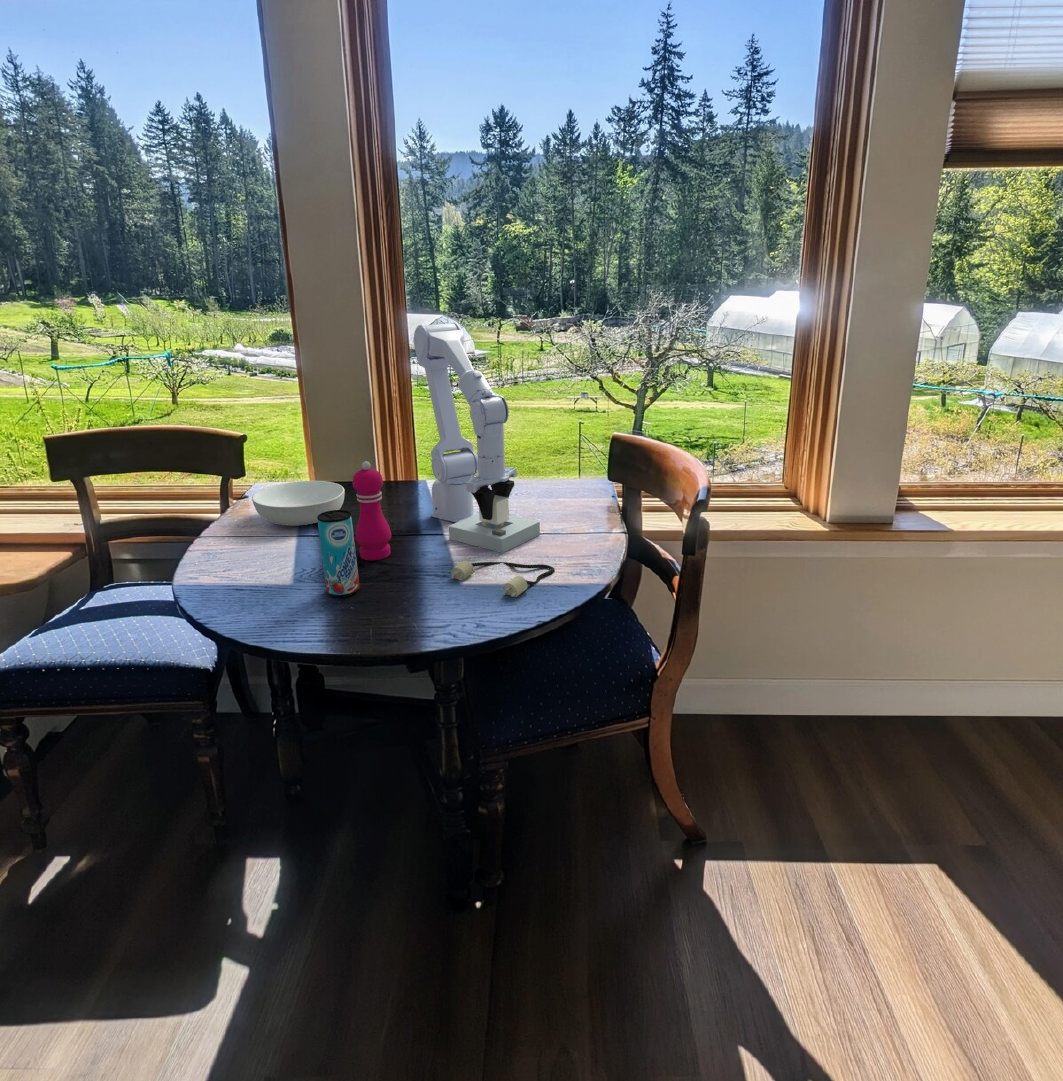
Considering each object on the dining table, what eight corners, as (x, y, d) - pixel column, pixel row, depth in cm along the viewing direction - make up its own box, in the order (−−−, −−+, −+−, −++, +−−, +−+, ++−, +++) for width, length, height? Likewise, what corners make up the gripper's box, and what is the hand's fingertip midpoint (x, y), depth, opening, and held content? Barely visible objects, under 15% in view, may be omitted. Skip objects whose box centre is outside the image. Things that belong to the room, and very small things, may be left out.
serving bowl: (279, 542, 165) (274, 512, 163) (242, 520, 180) (237, 492, 178) (363, 520, 178) (360, 492, 175) (322, 501, 193) (319, 475, 190)
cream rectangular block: (479, 525, 164) (478, 498, 162) (491, 519, 167) (490, 494, 164) (497, 529, 161) (496, 502, 159) (509, 524, 164) (508, 497, 162)
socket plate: (449, 538, 164) (448, 522, 163) (487, 522, 174) (486, 506, 173) (502, 552, 156) (502, 535, 154) (539, 534, 165) (539, 518, 164)
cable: (497, 556, 155) (496, 541, 154) (563, 573, 146) (563, 557, 145) (446, 582, 144) (445, 565, 142) (514, 602, 134) (513, 584, 133)
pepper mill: (399, 550, 158) (390, 458, 151) (382, 563, 152) (372, 467, 145) (369, 547, 161) (359, 456, 154) (351, 559, 154) (339, 464, 147)
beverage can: (330, 601, 136) (319, 522, 130) (324, 588, 141) (314, 512, 135) (362, 594, 138) (354, 517, 133) (356, 583, 143) (347, 508, 138)
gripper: (483, 465, 151) (486, 528, 155) (527, 450, 161) (528, 510, 166) (457, 460, 155) (461, 522, 159) (501, 446, 165) (503, 505, 170)
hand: (493, 516), depth 163 cm, fingers closed on cream rectangular block, 4 cm apart
